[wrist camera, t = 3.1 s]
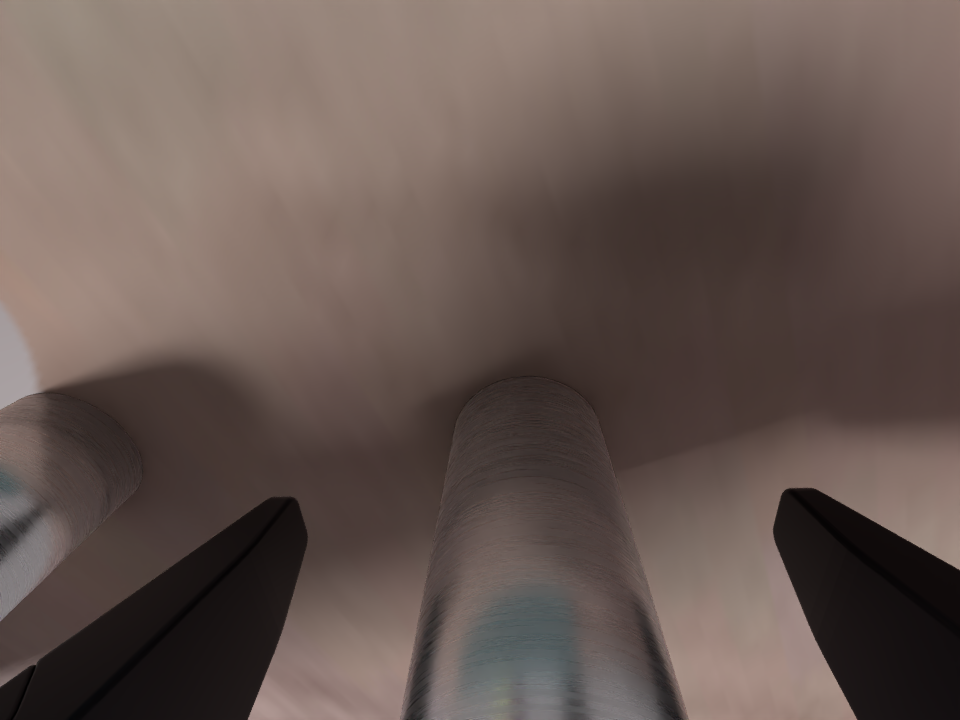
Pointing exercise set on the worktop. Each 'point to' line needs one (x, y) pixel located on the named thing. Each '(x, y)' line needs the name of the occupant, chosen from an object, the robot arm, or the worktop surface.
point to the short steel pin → (56, 485)
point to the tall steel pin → (536, 574)
